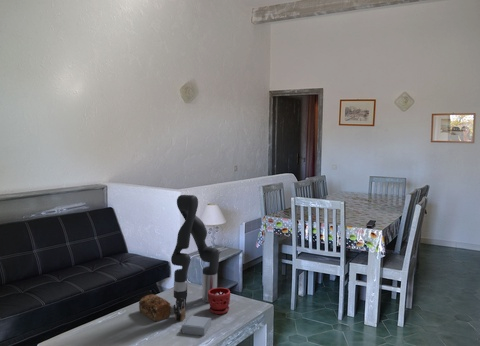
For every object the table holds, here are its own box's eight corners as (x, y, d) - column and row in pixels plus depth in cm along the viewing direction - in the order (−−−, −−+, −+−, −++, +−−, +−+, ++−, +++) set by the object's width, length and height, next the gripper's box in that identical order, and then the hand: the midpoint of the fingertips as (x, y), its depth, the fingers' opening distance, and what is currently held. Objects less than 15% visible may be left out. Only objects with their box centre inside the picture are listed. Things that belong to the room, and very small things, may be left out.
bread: (171, 317, 219) (171, 300, 219) (154, 323, 212) (154, 305, 211) (154, 307, 233) (154, 290, 232) (138, 311, 226) (138, 295, 225)
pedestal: (190, 322, 213) (190, 315, 213) (211, 325, 211) (211, 317, 211) (182, 332, 202) (182, 324, 201) (204, 335, 199) (204, 327, 199)
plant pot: (231, 306, 235) (231, 287, 235) (228, 316, 222) (228, 295, 222) (209, 305, 237) (210, 286, 236) (205, 314, 224) (206, 294, 223)
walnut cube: (177, 316, 221) (178, 307, 220) (185, 317, 220) (185, 308, 219) (174, 320, 216) (174, 311, 216) (182, 320, 215) (182, 312, 215)
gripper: (178, 283, 224) (178, 312, 226) (169, 292, 210) (168, 323, 212) (191, 284, 223) (190, 313, 224) (182, 293, 209) (181, 324, 210)
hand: (180, 318), depth 218 cm, fingers closed on walnut cube, 4 cm apart
